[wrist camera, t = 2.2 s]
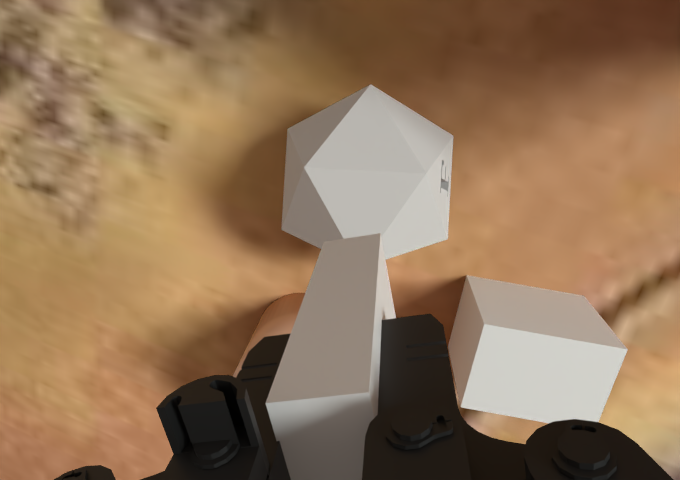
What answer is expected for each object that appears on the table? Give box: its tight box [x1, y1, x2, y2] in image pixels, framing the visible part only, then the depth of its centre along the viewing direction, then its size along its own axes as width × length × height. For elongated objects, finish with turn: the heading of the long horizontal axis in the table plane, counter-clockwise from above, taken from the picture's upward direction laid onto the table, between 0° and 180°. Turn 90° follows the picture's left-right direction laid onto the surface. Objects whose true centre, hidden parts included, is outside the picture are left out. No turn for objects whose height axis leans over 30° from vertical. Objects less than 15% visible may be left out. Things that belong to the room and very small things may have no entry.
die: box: [281, 84, 453, 260], centre depth 25 cm, size 8×9×10 cm
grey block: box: [448, 275, 628, 423], centre depth 29 cm, size 7×5×6 cm
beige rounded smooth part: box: [233, 293, 305, 378], centre depth 30 cm, size 6×6×7 cm
